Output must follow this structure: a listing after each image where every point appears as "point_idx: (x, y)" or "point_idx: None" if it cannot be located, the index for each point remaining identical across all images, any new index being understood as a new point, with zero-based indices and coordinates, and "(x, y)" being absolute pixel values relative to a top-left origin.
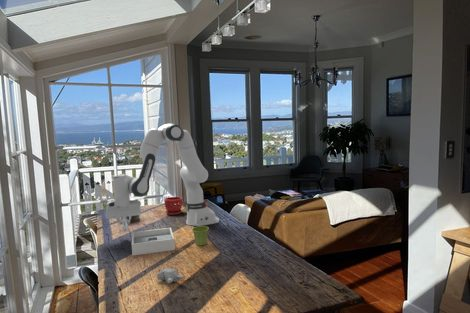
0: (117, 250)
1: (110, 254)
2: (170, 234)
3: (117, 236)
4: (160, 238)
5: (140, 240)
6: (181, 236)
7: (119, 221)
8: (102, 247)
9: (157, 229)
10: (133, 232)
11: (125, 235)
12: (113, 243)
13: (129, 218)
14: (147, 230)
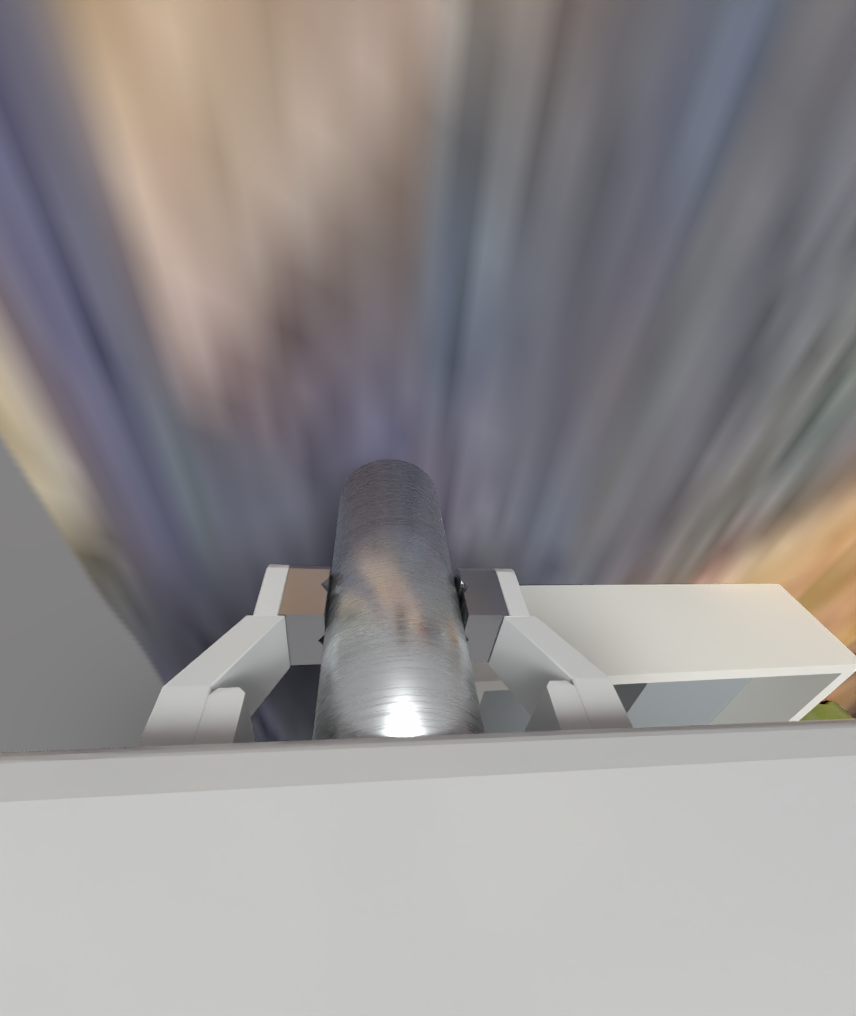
0: (309, 699)
1: (266, 739)
2: (759, 686)
3: (231, 257)
4: (654, 707)
5: (505, 709)
6: (846, 588)
7: (268, 681)
8: (138, 619)
9: (733, 676)
10: (479, 692)
11: (375, 271)
12: (236, 552)
13: (534, 681)
14: (637, 677)
